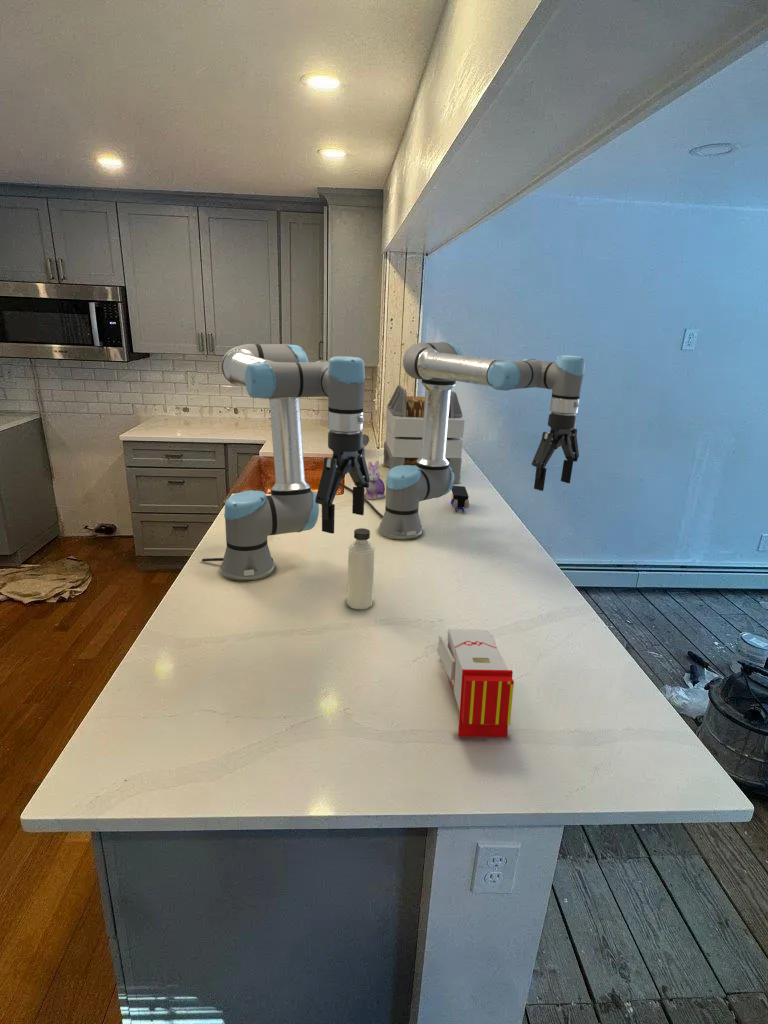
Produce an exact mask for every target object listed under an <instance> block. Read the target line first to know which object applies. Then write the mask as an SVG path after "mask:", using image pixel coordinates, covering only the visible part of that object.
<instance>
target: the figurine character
mask: <svg viewBox="0 0 768 1024" xmlns="http://www.w3.org/2000/svg"><path fill="white" fill-rule="evenodd" d="M450 491H451V493H452V494H451V495H450V505H451V507H452V508H453V509H454V511H455V512H456V513H458V510H461V511H462V513H465V509H469V506H470V500H469V498H470V496H469V494H468V491H467V488H466V486H461V485H453V487H452V489H451V490H450Z"/></svg>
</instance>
